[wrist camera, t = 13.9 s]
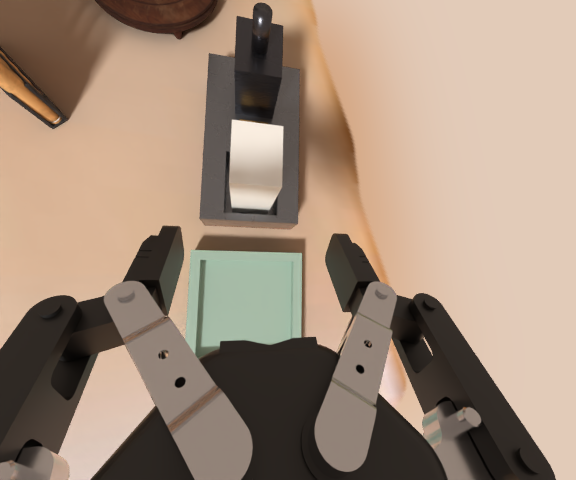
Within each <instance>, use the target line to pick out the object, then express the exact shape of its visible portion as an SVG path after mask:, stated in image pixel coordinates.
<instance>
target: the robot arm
mask: <svg viewBox="0 0 576 480" xmlns="http://www.w3.org/2000/svg"><path fill="white" fill-rule="evenodd" d="M183 260H184V247H183V240H182V233H181V228H180V226H163V227H162V229H161V231H160V233H159V235H158V236H153V235H151V236H150V237H149V238H147V239H146V240H145V241H144V242H143V243H142V245H141V247H140V249H139V252H138V253H137V255H136V258H135V259H134V260H133V262H132V264H131V266H130V268H129V270H128V272H127V274H126V276H125V278H124V280H123V282H122V283H119V284H117V285H115V286H113V287H112V288H111V289H109V290H108V291H107V293H106V294H105V296H102V297H99V298H95V299H91V300H86V301H82V302H78V303H77V302H76V300H75V299H74V298H73V297H70V296H66V295H60V296H54V297H50V298H47V299H45V300H43V301H41V302H39V303H37V304H36V305H34V306H33V307H32V308H31V309H30V310H29V311H28V312H27V313H26V315H25V316H24V317H23V319H22V320H21V322H20V323H19V324H18V326H17V327H16V329H15V330H14V331H13V333H12V334H11V335H10V337H9V338H8V340H7V341H6V342H5V344H4V345H3V347H2V348H1V349H0V480H68V478H69V465H68V463H67V461H66V460H65V459H64V458H62V457H61V456H59V455H58V453H59V450H60V448H61V445H62V443H63V440H64V438H65V435H66V433H67V430H68V428H69V425H70V423H71V420H72V418H73V415H74V413H75V410H76V408H77V405H78V403H79V400H80V398H81V395H82V393H83V390H84V388H85V385H86V383H87V381H88V378H89V376H90V373H91V371H92V368H93V366H94V363H95V361H96V358H97V356H98V353H99V352H102V351H105V350H109V349H112V348H115V347H118V346H121V345H124V344H125V346H126V348H127V350H128V352H129V354H130V356H131V358H132V360H133V362H134V364H135V366H136V368H137V370H138V372H139V374H140V376H141V378H142V380H143V382H144V384H145V386H146V388H147V390H148V392H149V394H150V396H151V398H152V400H153V402H154V404H155V407H154V408H153V409H152V410H151V411H150V413H149V414H148V415H147V416H146V417H145V418H144V419H143V421H142V422H141V423H140V424H139V425H138V426H137V427H136V428H135V430H134V431H133V432H132V433H131V434H130V435H129V436H128V438H127V439H126V440H125V441H124V442H123V443H122V444H121V446H120V447H119V448H118V449H117V450H116V451H115V452H114V453H113V455H112V456H111V457H110V458H109V459H108V460H107V461H106V463H105V464H104V465H103V466H102V467H101V468H100V469H99V471H98V472H97V473H96V474H95V475H94V476H93V477H92V478H91V480H556V479H555V475H554V472H553V470H552V468H551V466H550V464H549V463H548V461H547V460H546V458H545V457H544V455H543V454H542V452H541V451H540V449H539V448H538V446H537V445H536V443H535V442H534V440H533V439H532V438H531V436H530V434H529V433H528V432H527V430H526V428H525V427H524V426H523V424H522V423H521V421H520V420H519V418H518V417H517V415H516V414H515V412H514V411H513V409H512V408H511V406H510V405H509V403H508V402H507V401H506V399H505V398H504V396H503V394H502V393H501V391H500V390H499V389H498V387H497V386H496V384H495V383H494V381H493V380H492V378H491V377H490V375H489V374H488V373H487V371H486V369H485V368H484V366H483V365H482V363H481V362H480V360H479V359H478V357H477V356H476V355H475V353H474V352H473V350H472V349H471V347H470V346H469V344H468V343H467V341H466V340H465V338H464V337H463V336H462V334H461V332H460V331H459V329H458V328H457V327H456V325H455V323H454V322H453V321H452V319H451V318H450V316H449V315H448V313H447V312H446V310H445V309H444V307H443V306H442V305H441V303H440V302H439V301H438V300H437V299H435V298H434V297H432V296H430V295H428V294H424V293H419V294H416V295H415V296H414V298H413V299H409V298H406V297H402V296H398V295H396V293H395V291H394V290H393V289H392V288H391V287H390V286H388V285H387V284H385V283H382V282H380V281H379V279H378V277H377V275H376V273H375V272H374V270H373V268H372V266H371V264H370V263H369V261H368V259H367V257H366V255H365V254H364V252H363V250H362V249H361V248H360V247H359V246H358V245H357V244H356V243H352V242H351V240H350V238H349V236H348V235H347V234H333V235H332V237H331V240H330V243H329V246H328V249H327V252H326V257H325V262H326V266H327V269H328V272H329V274H330V277H331V280H332V283H333V286H334V288H335V291H336V294H337V297H338V300H339V302H340V305H341V308H342V311H343V312H351V314H352V317H351V319H350V321H349V324H348V326H347V329H346V331H345V333H344V336H343V338H342V340H341V343H340V345H339V347H338V349H337V352H334V351H333V350H331V349H329V348H327V347H325V346H322V345H318V344H317V340H316V337H302V338H292V339H288V340H285V341H282V342H279V343H276V344H272V345H267V344H262V343H257V342H252V341H247V340H234V341H220V349H217V350H214V351H211V352H209V353H207V354H205V355H204V356H202V357H201V358H199V359H198V358H197V357H196V355H195V354H194V352H193V351H192V349H191V348H190V346H189V345H188V343H187V342H186V340H185V339H184V337H183V336H182V335H181V333H180V332H179V330H178V329H177V327H176V326H175V324H174V323H173V321H172V320H171V319H170V318H169V317H168V313H169V310H170V306H171V303H172V299H173V296H174V292H175V289H176V285H177V282H178V278H179V275H180V271H181V267H182V264H183ZM165 316H167V317H165ZM424 337H425V339H426V341H427V342H428V344H429V346H430V348H431V350H432V354H433V356H432V354H431V352H430V351H429V349H428V347H427V345H426V343H425V341H424V339H423V338H424ZM391 338H392V340H393V342H394V345H395V347H396V349H397V352H398V354H399V356H400V359H401V361H402V363H403V366H404V368H405V370H406V373H407V375H408V377H409V379H410V382H411V384H412V387H413V389H414V391H415V394H416V396H417V398H418V400H419V403H420V405H421V407H422V410H423V412H424V414H425V415H424V417H423V422H422V425H423V430H424V433H423V436H422V435H421V434H420V433H419V432H418V431H417V430H416V429H415V428H414V427H413V426H412V425H411V424H410V423H409V422H408V421H407V420H406V419H405V418H404V417H403V416H402V415H401V414H400V413H399V412H398V411H397V410H395V409H394V408H393V407H392V406H391V405H390V404H389V403H388V402H387V401H386V400H385V399H384V398H383V397H382V396H381V395H380V394H379V393H378V392H379V388H380V384H381V379H382V375H383V371H384V367H385V362H386V358H387V354H388V350H389V345H390V341H391Z"/></svg>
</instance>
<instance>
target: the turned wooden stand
mask: <svg viewBox="0 0 576 480" xmlns="http://www.w3.org/2000/svg"><path fill="white" fill-rule="evenodd" d="M95 1H96V2H97V3H98V4H99V5H100V6H101V7H102V8H103V9H104V10H105V11H106V12H107V13H108V14H110V15H111V16H112V17H114V18H115V19H117V20H119V21H120V22H122V23H124V24H126V25H128V26H131V27H133V28H136V29H139V30H143V31H147V32H152V33H173V34H174V35H175V37H176V38H177V39H181V37H182V31H185V30H188V29H191V28H193V27H195V26H197V25H198V24H200V23H201V22H203V21H204V20H205V19H206V18H207V17H208V16H209V15H210V14H211V12H212V11H213V9H214V8H215V5H216V3H217V0H95Z"/></svg>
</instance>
